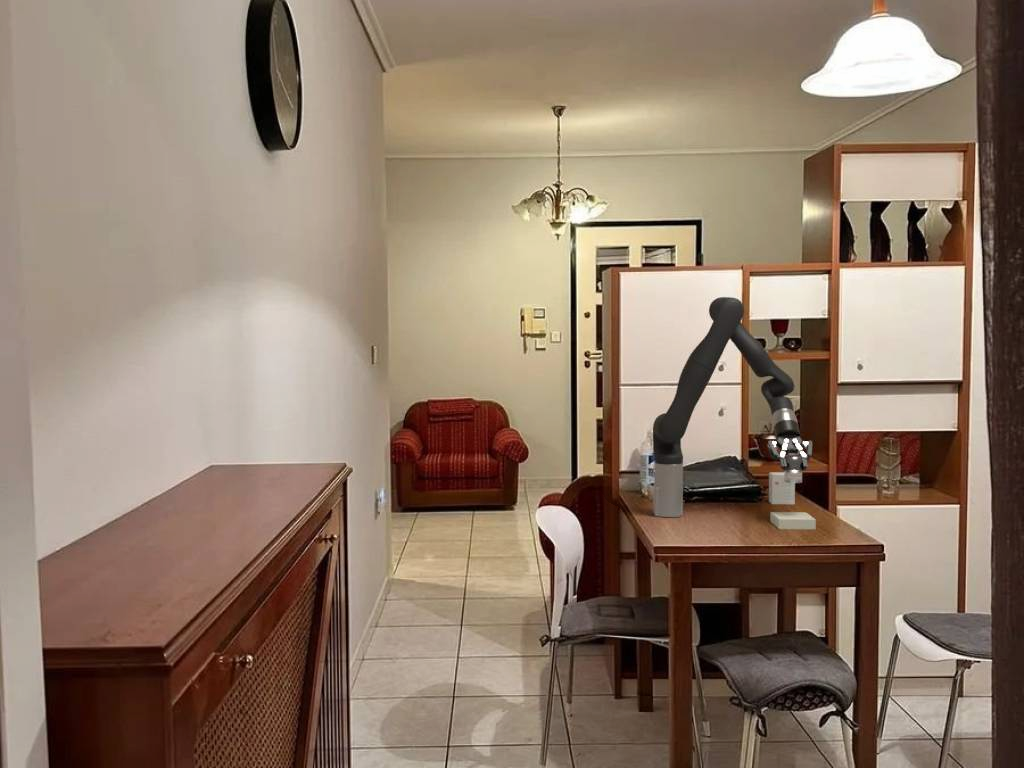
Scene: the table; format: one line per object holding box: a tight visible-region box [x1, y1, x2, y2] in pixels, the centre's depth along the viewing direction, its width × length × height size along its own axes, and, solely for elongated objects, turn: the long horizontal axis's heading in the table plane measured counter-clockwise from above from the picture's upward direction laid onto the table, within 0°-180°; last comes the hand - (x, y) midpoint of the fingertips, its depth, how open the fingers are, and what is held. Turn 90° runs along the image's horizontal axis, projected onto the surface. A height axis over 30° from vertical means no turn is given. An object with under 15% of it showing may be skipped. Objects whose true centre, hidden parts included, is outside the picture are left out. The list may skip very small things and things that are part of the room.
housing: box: [783, 454, 803, 484], centre depth 280 cm, size 5×5×8 cm
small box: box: [768, 471, 796, 506], centre depth 317 cm, size 8×6×10 cm
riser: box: [769, 511, 817, 530], centre depth 281 cm, size 11×11×3 cm
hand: (794, 469), depth 278 cm, fingers closed on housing, 5 cm apart
